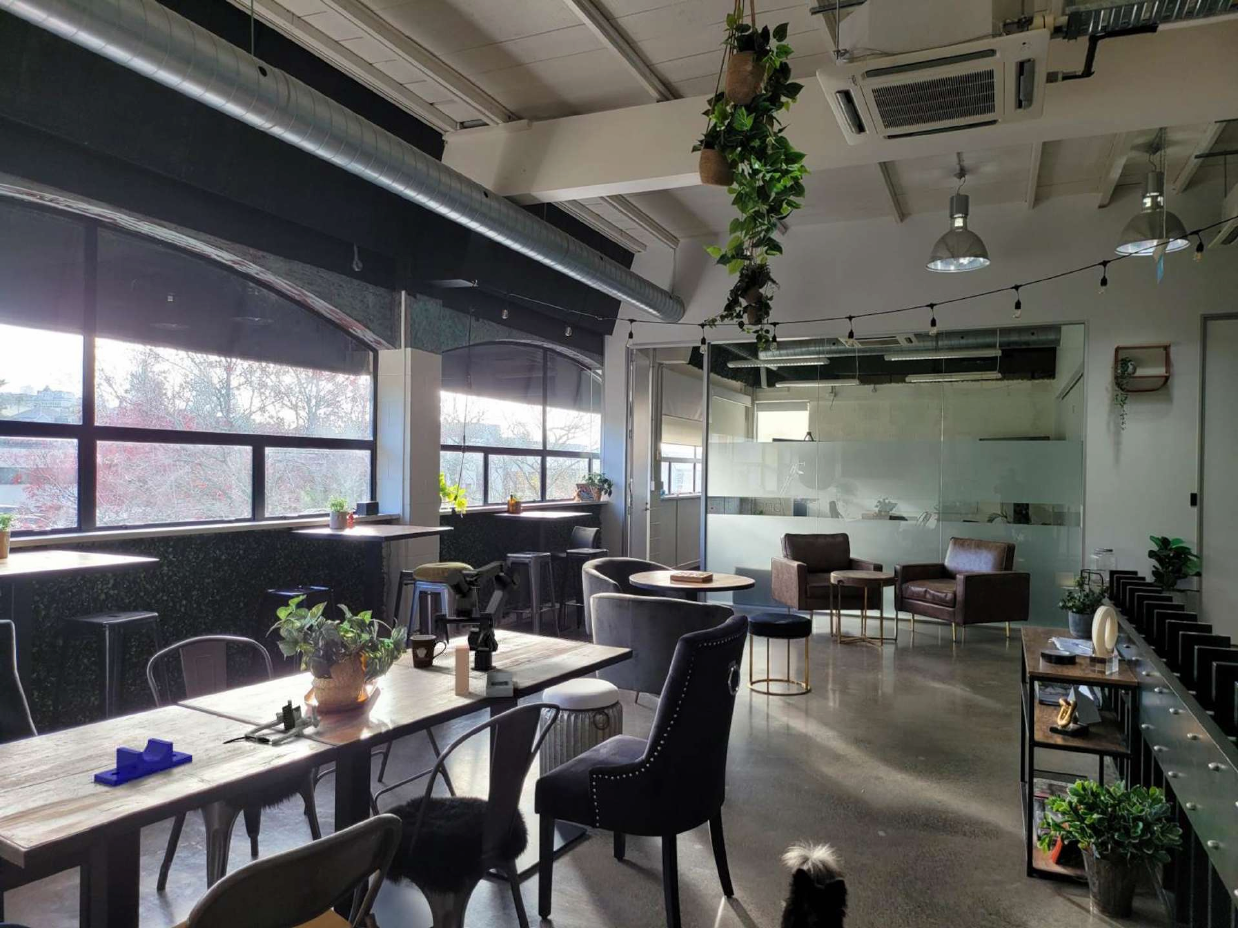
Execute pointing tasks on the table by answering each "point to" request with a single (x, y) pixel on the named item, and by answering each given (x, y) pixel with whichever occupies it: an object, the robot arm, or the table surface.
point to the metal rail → (499, 685)
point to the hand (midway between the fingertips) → (462, 643)
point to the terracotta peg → (462, 670)
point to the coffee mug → (424, 650)
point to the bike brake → (290, 720)
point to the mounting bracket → (142, 762)
